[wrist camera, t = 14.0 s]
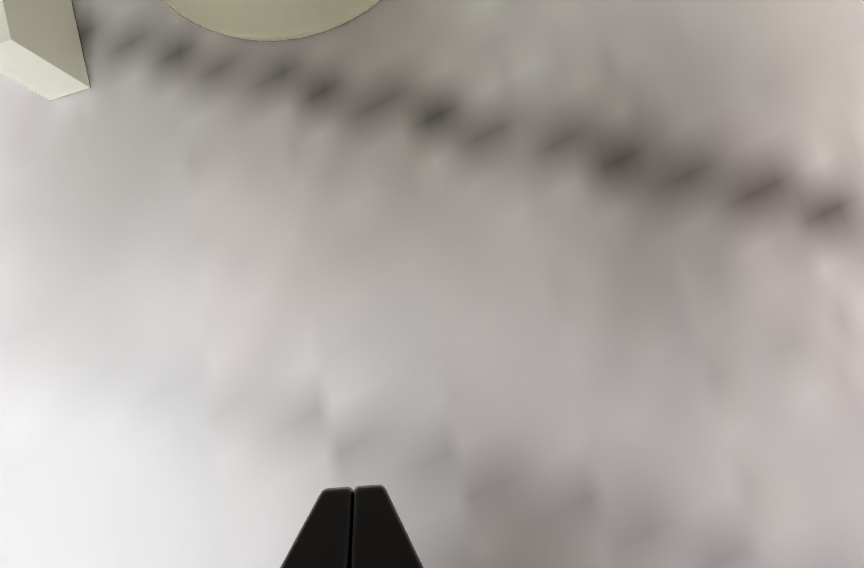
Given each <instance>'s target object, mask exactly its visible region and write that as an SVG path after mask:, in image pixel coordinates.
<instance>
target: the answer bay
mask: <svg viewBox="0 0 864 568" xmlns="http://www.w3.org/2000/svg"><path fill="white" fill-rule="evenodd" d="M0 74H1V75H3V76H5V77H7V78H9V79H11V80H13V81H14V82H16V83H18V84H20V85H22V86H24V87H26V88H28V89H30V90H31V91H33V92H35V93H37V94H39V95H41V96H43V97H45V98H47V99H49V100H54V99H57V98H60V97H63V96H66V95H70V94H73V93H76V92H79V91H82V90H85V89H89V88H90V84H89V79H88V75H87V70H86V66H85V61H84V57H83V52H82V48H81V43H80V38H79V34H78V29H77V25H76V20H75V16H74V11H73V7H72V2H71V0H0Z"/></svg>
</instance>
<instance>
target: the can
mask: <svg viewBox="0 0 864 568" xmlns="http://www.w3.org/2000/svg"><path fill="white" fill-rule="evenodd" d="M163 1H164V2H165V3H166V4H168V5H169V6H170V7H171V8H173V9H174V10H175V11H177V12H178V13H179V14H180V15H182V16H184V17H185V18H187V19H188V20H190V21H192V22H194V23H196V24H198V25H200V26H202V27H204V28H206V29H209V30H212V31H214V32H217V33H220V34H223V35H227V36H231V37H235V38H240V39H247V40H257V41H281V40H289V39H297V38H304V37H307V36H311V35H314V34H318V33H321V32H325V31H328V30H330V29H333V28H335V27H338V26H340V25H342V24H344V23H346V22H348V21H350V20H352V19H354V18H355V17H357V16H359V15H361V14H362V13H364V12H365V11H367V10H368V9H370V8H371V7H373V6H374V5H375V4H377V3H378V2H379V1H380V0H163Z"/></svg>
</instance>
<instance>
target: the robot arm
mask: <svg viewBox="0 0 864 568" xmlns="http://www.w3.org/2000/svg"><path fill="white" fill-rule="evenodd" d="M280 568H423V566H422V564H421V562H420V559H419V557H418V555H417V553H416V551H415V549H414V547H413V545H412V543H411V541H410V539H409V536H408V534H407V532H406V530H405V528H404V526H403V524H402V522H401V520H400V518H399V516H398V513H397V511H396V509H395V507H394V505H393V503H392V501H391V499H390V497H389V495H388V493H387V491H386V489H385V488H384V486H382V485H368V486H358V487H356V488H355V490H354V491H353V489H352V488H350V487H340V488H327V489H325V490H323V491H322V492H321V494H320V495H319V497H318V499H317V501H316V503H315V505H314V506H313V508H312V510H311V512H310V514H309V516H308V517H307V519H306V521H305V523H304V525H303V527H302V528H301V530H300V532H299V534H298V536H297V538H296V540H295V541H294V543H293V545H292V547H291V549H290V551H289V552H288V554H287V556H286V558H285V560H284V562H283V564H282V565H281V567H280Z"/></svg>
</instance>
